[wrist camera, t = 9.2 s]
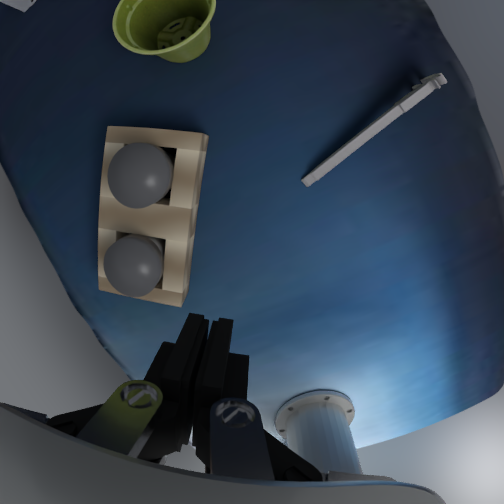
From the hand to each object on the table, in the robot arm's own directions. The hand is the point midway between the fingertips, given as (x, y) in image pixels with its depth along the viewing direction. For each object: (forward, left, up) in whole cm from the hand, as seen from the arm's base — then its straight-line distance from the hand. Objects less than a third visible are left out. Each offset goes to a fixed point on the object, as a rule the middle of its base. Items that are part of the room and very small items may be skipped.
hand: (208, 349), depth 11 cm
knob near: (+4, +10, -23) cm, 25 cm away
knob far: (-5, +10, -23) cm, 25 cm away
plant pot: (+20, +10, -23) cm, 32 cm away
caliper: (+13, -12, -24) cm, 30 cm away
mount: (0, +10, -23) cm, 25 cm away
